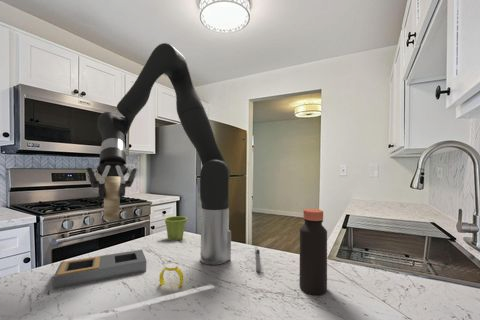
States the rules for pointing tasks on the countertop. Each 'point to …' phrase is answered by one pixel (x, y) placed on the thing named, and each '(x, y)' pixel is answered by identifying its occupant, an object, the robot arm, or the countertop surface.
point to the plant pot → (175, 227)
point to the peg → (111, 198)
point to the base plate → (98, 268)
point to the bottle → (313, 253)
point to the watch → (171, 268)
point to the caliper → (257, 258)
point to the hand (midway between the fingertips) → (112, 196)
